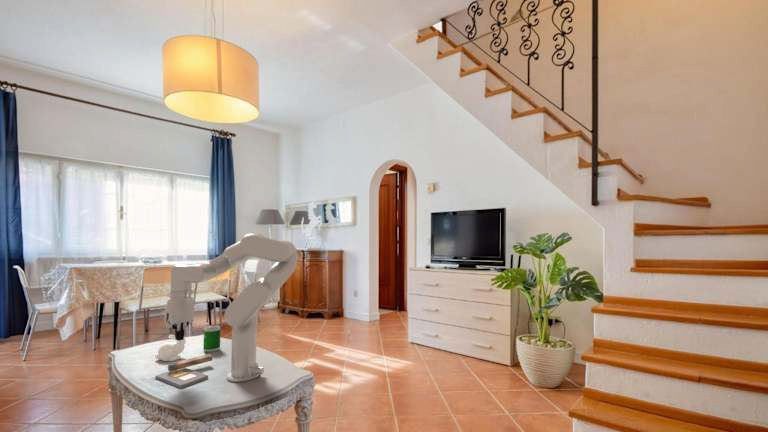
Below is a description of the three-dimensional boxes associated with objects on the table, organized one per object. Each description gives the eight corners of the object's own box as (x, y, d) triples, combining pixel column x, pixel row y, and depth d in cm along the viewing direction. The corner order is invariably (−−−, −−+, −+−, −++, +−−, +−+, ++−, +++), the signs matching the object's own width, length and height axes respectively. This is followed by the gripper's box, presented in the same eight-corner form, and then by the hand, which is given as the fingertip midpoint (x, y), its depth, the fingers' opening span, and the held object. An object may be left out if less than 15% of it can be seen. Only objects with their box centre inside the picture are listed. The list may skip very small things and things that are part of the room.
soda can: (223, 348, 180) (223, 324, 180) (213, 353, 172) (214, 328, 173) (209, 347, 181) (210, 324, 182) (199, 352, 174) (200, 327, 174)
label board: (208, 378, 143) (208, 372, 143) (180, 388, 133) (180, 382, 133) (182, 369, 152) (182, 364, 152) (155, 378, 142) (155, 372, 142)
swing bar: (208, 358, 158) (209, 354, 158) (212, 360, 156) (212, 355, 156) (166, 369, 146) (166, 364, 146) (169, 371, 143) (169, 366, 143)
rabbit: (185, 354, 170) (186, 329, 171) (183, 361, 162) (184, 334, 162) (156, 358, 166) (157, 332, 166) (152, 365, 157) (153, 337, 158)
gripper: (193, 291, 154) (192, 334, 153) (156, 296, 141) (155, 343, 140) (203, 292, 150) (202, 336, 149) (167, 298, 137) (165, 346, 136)
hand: (179, 339), depth 144 cm, fingers closed
